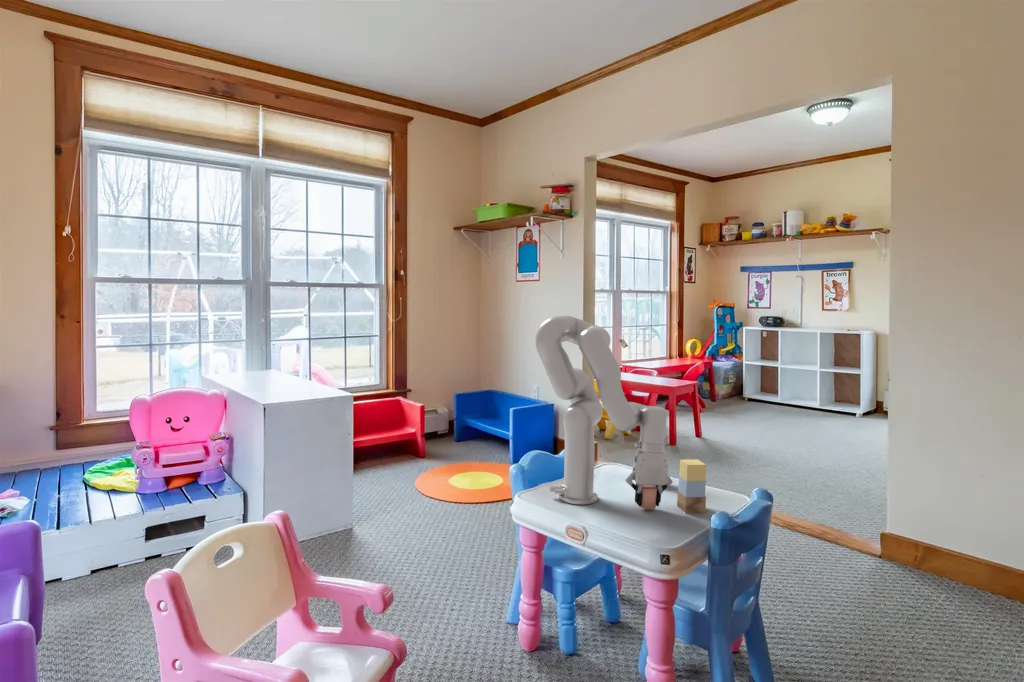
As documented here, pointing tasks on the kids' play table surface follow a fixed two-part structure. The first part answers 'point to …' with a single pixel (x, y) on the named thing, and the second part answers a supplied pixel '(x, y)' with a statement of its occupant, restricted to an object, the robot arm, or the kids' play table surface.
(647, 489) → the cylinder
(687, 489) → the tower mid
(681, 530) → the kids' play table surface
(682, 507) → the tower base
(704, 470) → the tower top
